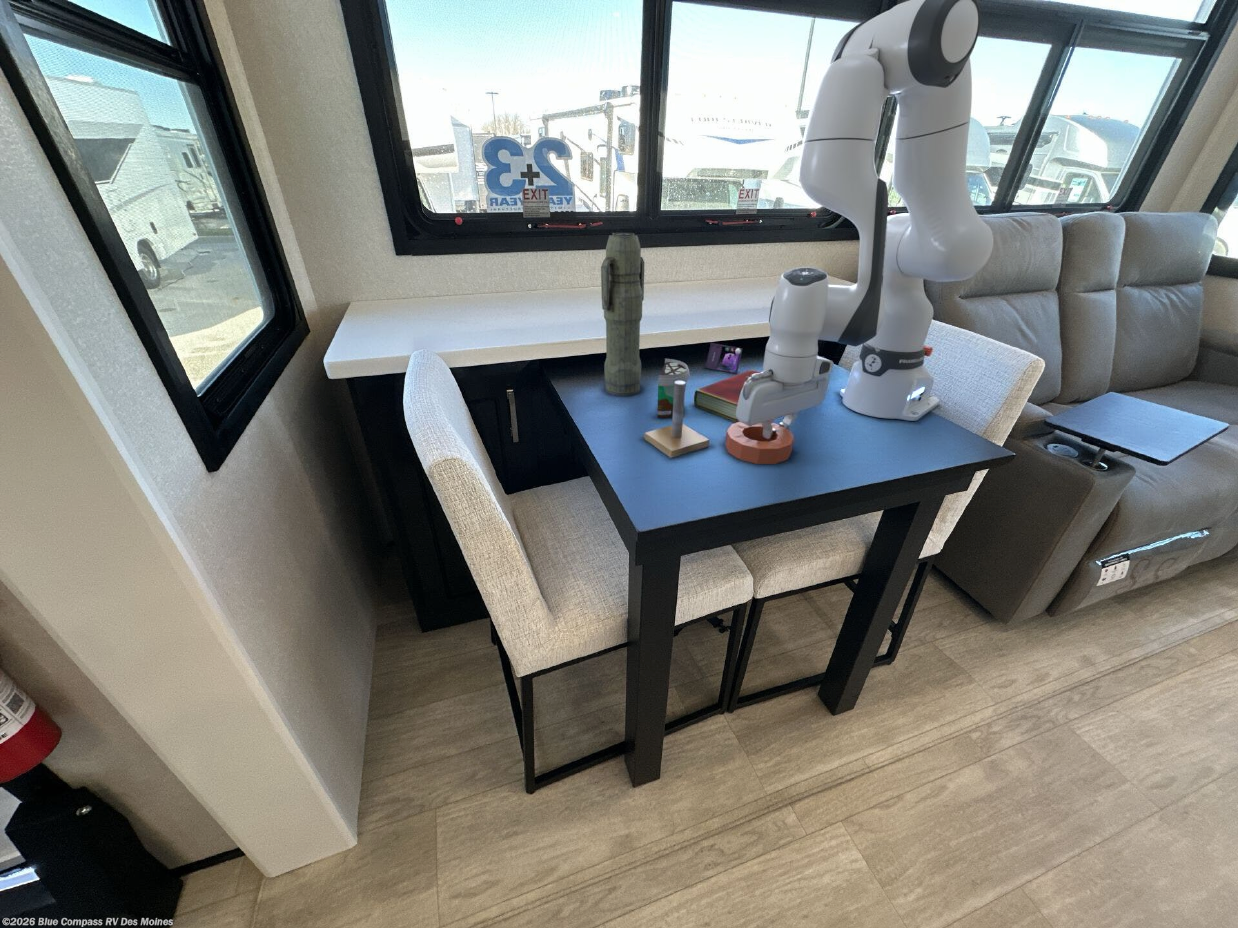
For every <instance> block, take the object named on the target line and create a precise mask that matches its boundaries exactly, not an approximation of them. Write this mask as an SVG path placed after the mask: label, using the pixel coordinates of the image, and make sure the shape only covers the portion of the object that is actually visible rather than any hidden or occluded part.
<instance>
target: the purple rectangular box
mask: <svg viewBox="0 0 1238 928" xmlns="http://www.w3.org/2000/svg"><path fill="white" fill-rule="evenodd" d="M723 348H724V350H725V352H728V353H725V354H724V357H723V359H722V360H721V361H722V362H721V363H720V358H721V354H722V351H723ZM708 350H709V351H708V354H707V359H706V364H705V368H707V369H711V370H716V371H721V372H727V373H731V374H738V370H739V366H740V362H741V358H742V353H743V348H742V347H737V346H732V345H725V344H720V343H715V342H711V343H710V346H709V349H708ZM734 353H735V354H734ZM719 364H722V365H723V367H728V368H729V367H731V368H730V370H728V369H722V368H718V367H719Z"/></svg>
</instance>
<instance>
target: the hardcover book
mask: <svg viewBox="0 0 1238 928" xmlns="http://www.w3.org/2000/svg"><path fill="white" fill-rule="evenodd" d="M761 372H762V371H758V370H754V369H749V370H745V371H742V372H740V373H736V374H734V375H732V376H730V377H727V378H724V379H722V380H719V381H716V382H714V383H711V384H709V385H705V386H703V387H700V388H698V389H695V391H694V395H693V404H694V407H697V408H699V409H701V410H704V411H706V412H709V413H712V414H714V415H717V416H719V417H722V418H725V419H728V420H730V421H733V422H734V423H737V422H740V421H739V420H738V419H737V417H736V410H737V405H738V401H739V397H740V393H741V390H742V388H743V385H744V383H745V382H746V381H747V380H748V379H749V378H750V376H751V375H752V374H755V373H761Z"/></svg>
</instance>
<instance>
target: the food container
mask: <svg viewBox="0 0 1238 928" xmlns="http://www.w3.org/2000/svg"><path fill="white" fill-rule="evenodd" d="M690 378H691V374H690V369H689V366H688V364H686V363H685V362H683V361H681V360H677V359H673V358H671V359H670V358H664V364H663V367H662V370H661V373H660V374H659V375H658V379H657V415H656V416H657V417H656V418H657V419H668V418H672V417H673V400H674V383H675V381H684V382H685V389H686V387H687V382H688V381H689V380H690Z"/></svg>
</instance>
